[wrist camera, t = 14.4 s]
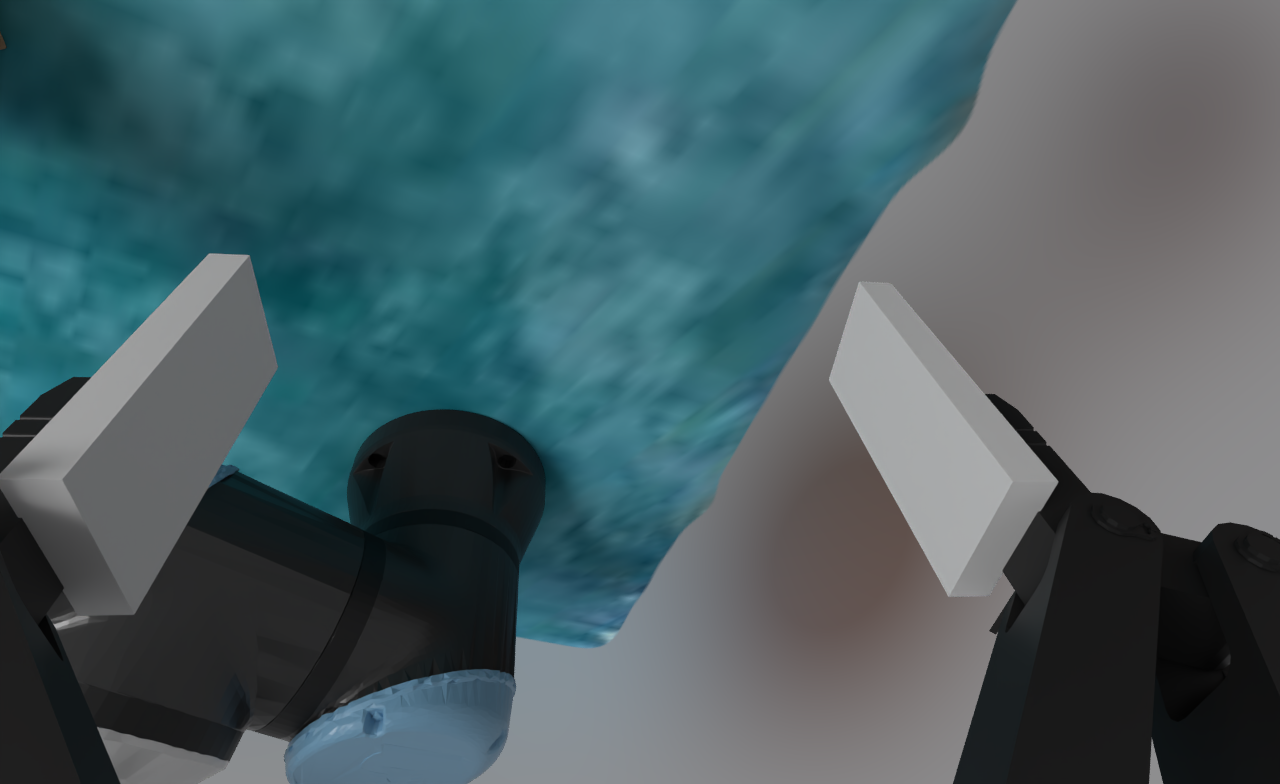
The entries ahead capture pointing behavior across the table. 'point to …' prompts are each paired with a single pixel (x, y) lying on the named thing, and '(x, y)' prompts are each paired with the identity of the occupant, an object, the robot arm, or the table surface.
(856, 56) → the table surface
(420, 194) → the table surface
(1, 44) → the walnut base cube
